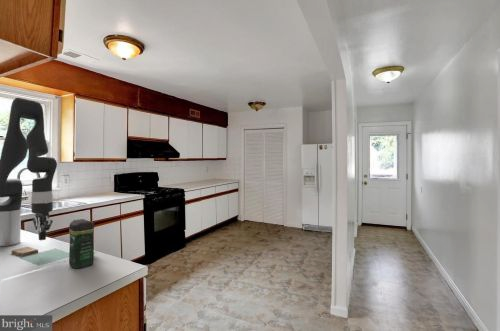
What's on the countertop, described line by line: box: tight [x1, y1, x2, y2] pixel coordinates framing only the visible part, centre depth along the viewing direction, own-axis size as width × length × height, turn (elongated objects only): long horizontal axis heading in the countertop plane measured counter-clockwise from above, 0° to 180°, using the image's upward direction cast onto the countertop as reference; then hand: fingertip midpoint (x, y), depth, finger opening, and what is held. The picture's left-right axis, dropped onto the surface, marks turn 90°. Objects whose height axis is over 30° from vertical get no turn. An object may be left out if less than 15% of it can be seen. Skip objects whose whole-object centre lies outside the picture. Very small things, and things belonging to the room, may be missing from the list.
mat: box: [19, 248, 69, 266], centre depth 116 cm, size 17×14×1 cm
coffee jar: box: [68, 218, 95, 269], centre depth 109 cm, size 10×8×19 cm
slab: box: [11, 246, 39, 257], centre depth 119 cm, size 2×6×9 cm
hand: (42, 239), depth 118 cm, fingers closed
